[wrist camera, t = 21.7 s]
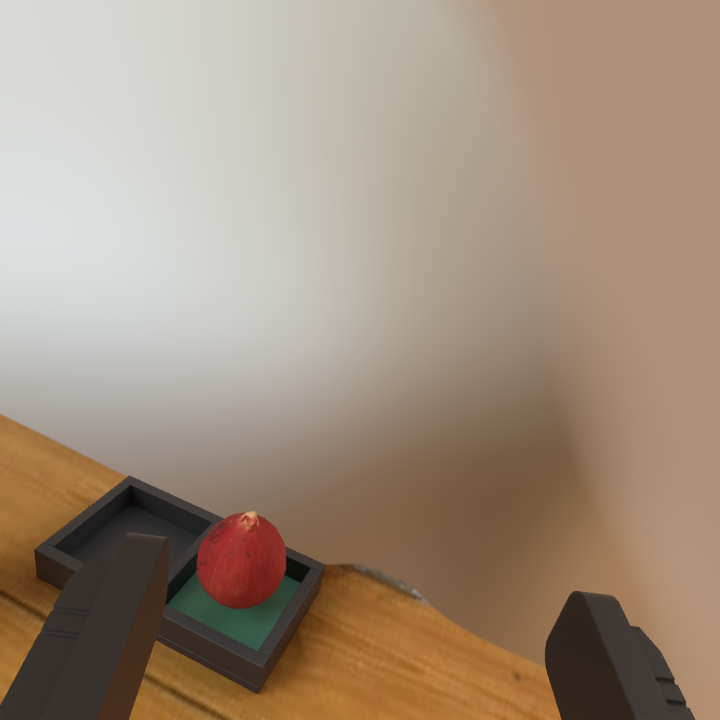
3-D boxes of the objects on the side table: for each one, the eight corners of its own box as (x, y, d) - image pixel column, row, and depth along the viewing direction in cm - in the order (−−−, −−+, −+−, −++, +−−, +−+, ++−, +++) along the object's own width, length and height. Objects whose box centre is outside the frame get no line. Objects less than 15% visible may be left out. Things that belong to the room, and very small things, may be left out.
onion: (177, 618, 39) (183, 528, 35) (217, 556, 44) (226, 472, 40) (260, 648, 38) (275, 559, 34) (290, 581, 43) (306, 498, 39)
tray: (128, 499, 48) (129, 475, 47) (320, 589, 44) (325, 564, 43) (36, 576, 40) (33, 549, 39) (257, 694, 36) (262, 667, 35)
